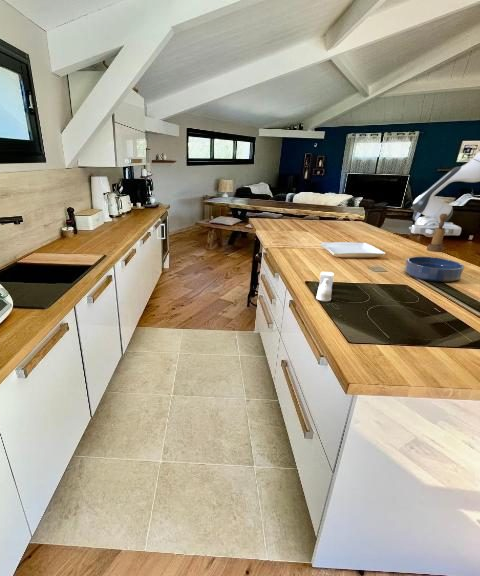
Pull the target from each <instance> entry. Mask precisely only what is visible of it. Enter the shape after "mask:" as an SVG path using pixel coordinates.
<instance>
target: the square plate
mask: <svg viewBox="0 0 480 576" xmlns="http://www.w3.org/2000/svg"><path fill="white" fill-rule="evenodd" d="M319 244H320V246H321V247H322V248H323V249H324V250H326V251H327V252H329V253H330V254H331V255H332V256H334V257H335V258H336V257H337V258H343V259H344V258H345V259H346V258H347V259H348V258H349V259H350V258H352V259H353V258H354V259H355V258H356V259H358V258H360V259H361V258H362V259H363V258H364V259H368V258H371V259H372V258H380V257H383V256H384V255H386V254H387V253H386V252H385V251H383V250H381V249H379V248H378V247H376V246H373V245H372V244H370V243H367V242H355V241H354V242H353V241H332V242H319Z"/></svg>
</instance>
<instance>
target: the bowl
mask: <svg viewBox="0 0 480 576" xmlns="http://www.w3.org/2000/svg"><path fill="white" fill-rule="evenodd" d="M464 269H465V265H463V264H462V263H460V262H458V261H455V260H451V259H446V258H440V257H433V256H411V257H408V258H406V261H405V265H404V269H403V270H404V272H405V273H406V274H408V275H409V276H411V277H414V278H416V279H419V280H424V281H429V282H439V283H450V282H455V281H459V280H460V279H462V276H463V273H464Z"/></svg>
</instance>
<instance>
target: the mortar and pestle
mask: <svg viewBox="0 0 480 576" xmlns="http://www.w3.org/2000/svg"><path fill="white" fill-rule="evenodd" d="M447 217H448V216H447V214H441V215H440V217H439V218H440V223H439V228H435V234H434V235H433V237H432V239H431V243H429V244H427V245H426V246H427V247H426V251H428V252H433V253H442V252H443V251H444V248H445V246H444V245H443V244H442V243H443V239H444V236H445V235H444V232H445V228H442V227H443V226H444V224H445V223H444V221H445V220H446V218H447Z"/></svg>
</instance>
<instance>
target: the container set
mask: <svg viewBox="0 0 480 576" xmlns="http://www.w3.org/2000/svg"><path fill="white" fill-rule="evenodd" d="M334 276H335V273H334V272H331V271H320V276H319V283H318V289H317V291H316V292H317V293H316V296H315V299H316V300H317V301H321V302H331V300H332V294H333V293H332V292H333V284H334V278H335V277H334Z"/></svg>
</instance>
